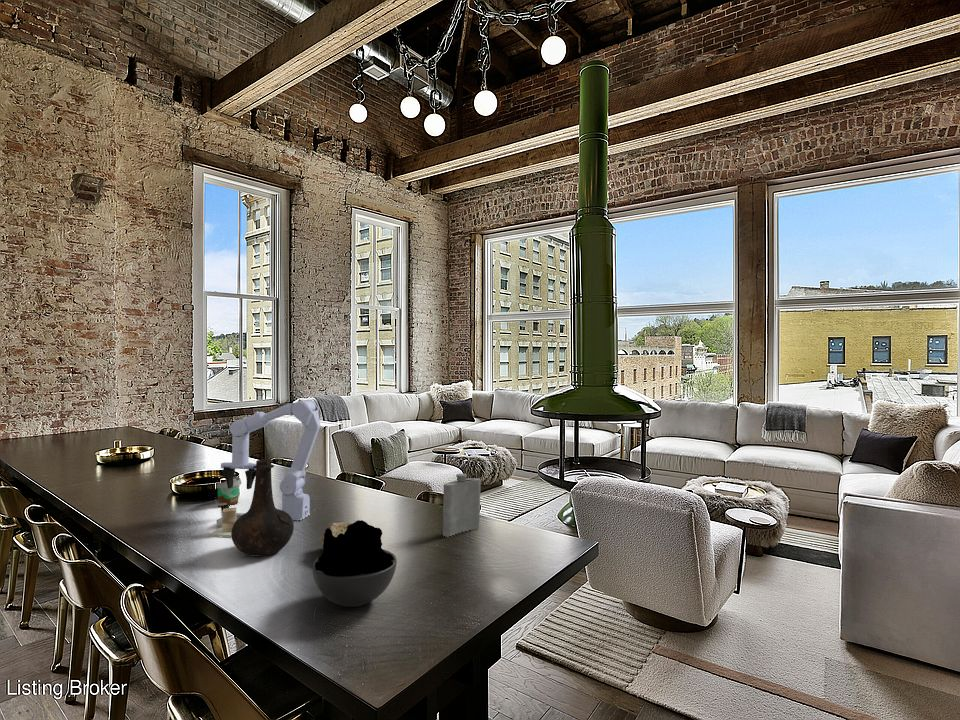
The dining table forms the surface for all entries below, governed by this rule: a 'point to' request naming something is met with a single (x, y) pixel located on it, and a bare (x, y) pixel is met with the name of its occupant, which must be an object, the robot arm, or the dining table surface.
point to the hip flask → (461, 505)
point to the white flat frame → (219, 521)
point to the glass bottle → (262, 519)
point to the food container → (228, 492)
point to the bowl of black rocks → (354, 565)
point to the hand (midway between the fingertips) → (239, 488)
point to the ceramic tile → (220, 533)
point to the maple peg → (228, 519)
